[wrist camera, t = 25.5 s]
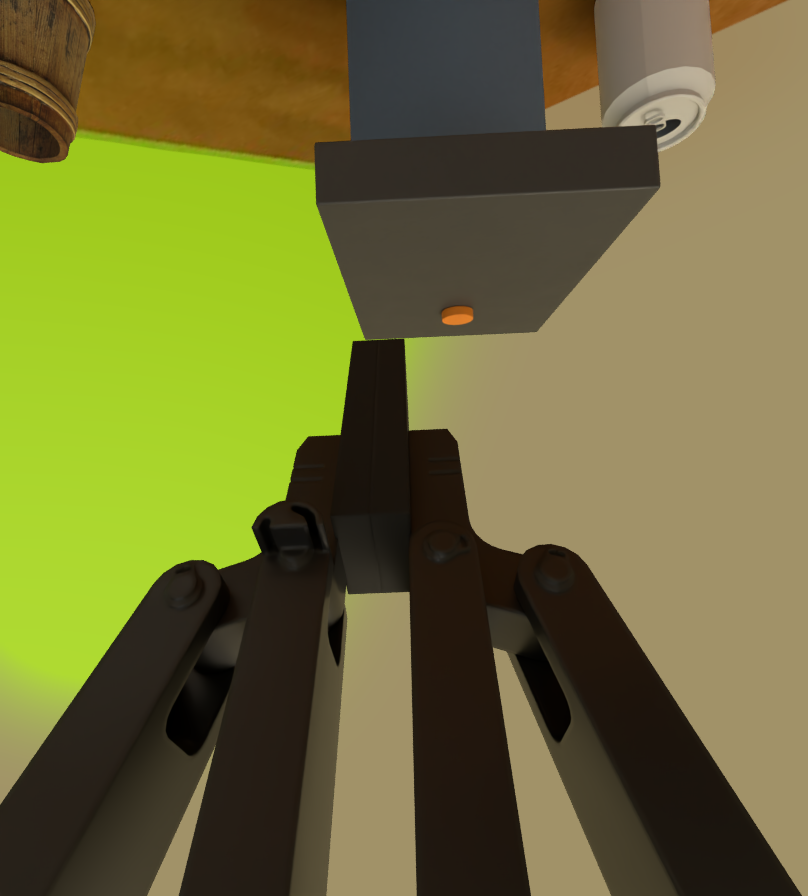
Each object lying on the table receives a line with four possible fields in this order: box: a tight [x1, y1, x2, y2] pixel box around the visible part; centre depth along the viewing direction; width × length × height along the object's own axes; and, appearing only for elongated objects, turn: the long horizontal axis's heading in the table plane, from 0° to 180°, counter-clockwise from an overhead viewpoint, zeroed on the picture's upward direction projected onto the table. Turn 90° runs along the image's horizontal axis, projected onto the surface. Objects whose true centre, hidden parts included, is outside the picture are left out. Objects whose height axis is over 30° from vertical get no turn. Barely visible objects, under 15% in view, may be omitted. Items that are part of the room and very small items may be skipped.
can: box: [594, 0, 716, 152], centre depth 36 cm, size 8×8×12 cm
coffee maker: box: [314, 0, 660, 340], centre depth 28 cm, size 18×13×27 cm
